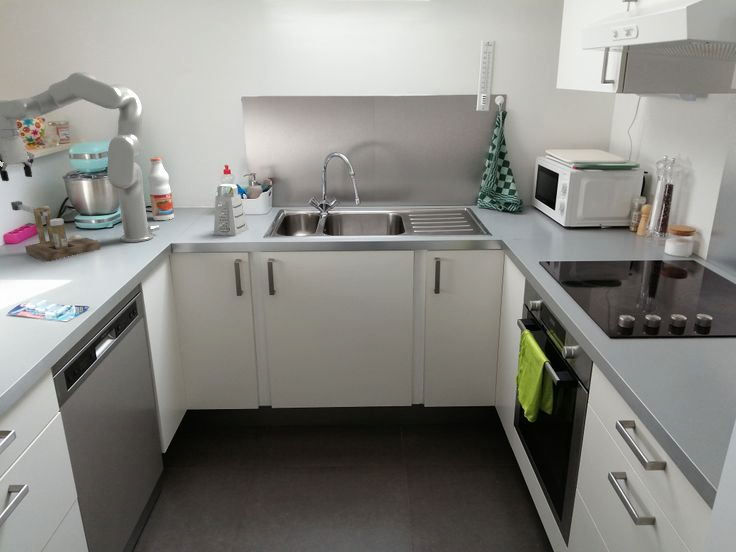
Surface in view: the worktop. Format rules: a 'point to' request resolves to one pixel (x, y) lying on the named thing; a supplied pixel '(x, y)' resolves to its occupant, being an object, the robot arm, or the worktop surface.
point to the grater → (229, 212)
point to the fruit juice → (160, 191)
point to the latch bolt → (25, 208)
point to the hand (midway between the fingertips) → (17, 178)
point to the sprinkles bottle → (59, 233)
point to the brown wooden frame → (47, 248)
